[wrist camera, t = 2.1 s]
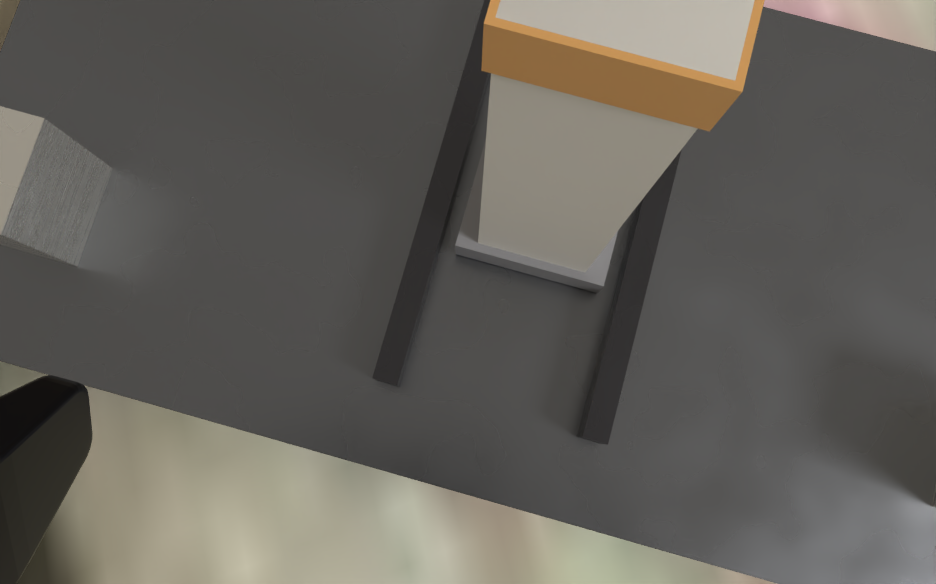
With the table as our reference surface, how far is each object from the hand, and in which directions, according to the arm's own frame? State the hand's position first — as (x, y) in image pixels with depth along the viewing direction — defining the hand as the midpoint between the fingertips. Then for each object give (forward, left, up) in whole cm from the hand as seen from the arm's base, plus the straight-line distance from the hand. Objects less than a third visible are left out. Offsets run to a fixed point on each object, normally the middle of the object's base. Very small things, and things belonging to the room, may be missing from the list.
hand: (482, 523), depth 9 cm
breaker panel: (+6, +3, -13) cm, 14 cm away
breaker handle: (+6, +3, -11) cm, 13 cm away
